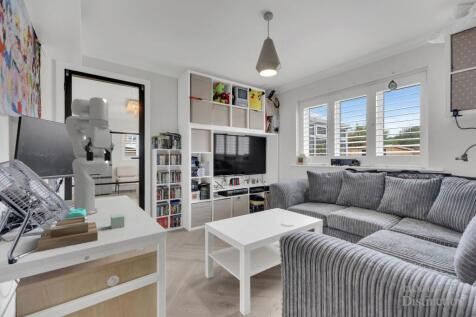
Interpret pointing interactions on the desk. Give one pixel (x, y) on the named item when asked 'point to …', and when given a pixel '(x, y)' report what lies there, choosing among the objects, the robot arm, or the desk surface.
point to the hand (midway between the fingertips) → (99, 160)
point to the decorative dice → (76, 213)
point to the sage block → (117, 221)
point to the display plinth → (67, 239)
